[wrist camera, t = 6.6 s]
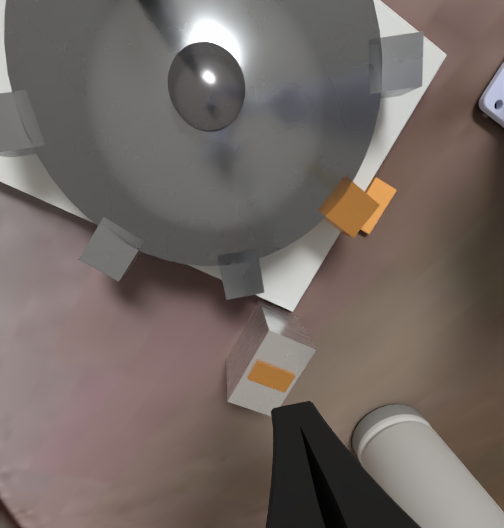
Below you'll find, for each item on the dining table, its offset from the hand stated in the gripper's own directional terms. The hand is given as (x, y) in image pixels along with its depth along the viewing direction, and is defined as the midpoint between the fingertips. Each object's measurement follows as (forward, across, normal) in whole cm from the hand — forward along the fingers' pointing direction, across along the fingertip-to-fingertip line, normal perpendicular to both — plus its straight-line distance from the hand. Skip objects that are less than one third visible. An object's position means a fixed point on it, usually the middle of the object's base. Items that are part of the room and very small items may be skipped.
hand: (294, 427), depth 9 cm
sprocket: (+7, +1, -12) cm, 14 cm away
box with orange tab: (+10, 0, +2) cm, 10 cm away
